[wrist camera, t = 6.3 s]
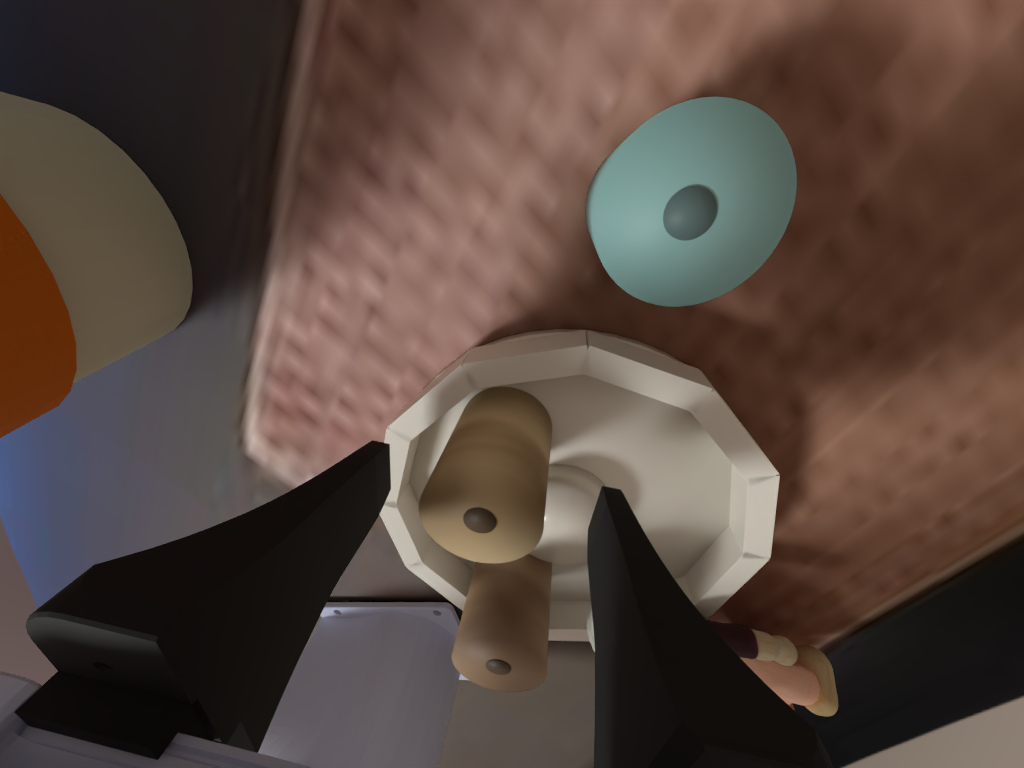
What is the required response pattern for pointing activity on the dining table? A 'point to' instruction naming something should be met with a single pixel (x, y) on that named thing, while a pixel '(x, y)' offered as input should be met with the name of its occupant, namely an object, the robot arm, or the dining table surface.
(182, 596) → the robot arm
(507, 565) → the walnut bead
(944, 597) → the dining table surface
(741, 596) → the dining table surface
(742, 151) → the teal bead
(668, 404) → the groove tray
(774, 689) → the grandmother figurine
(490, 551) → the oak bead
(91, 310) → the reusable coffee cup
